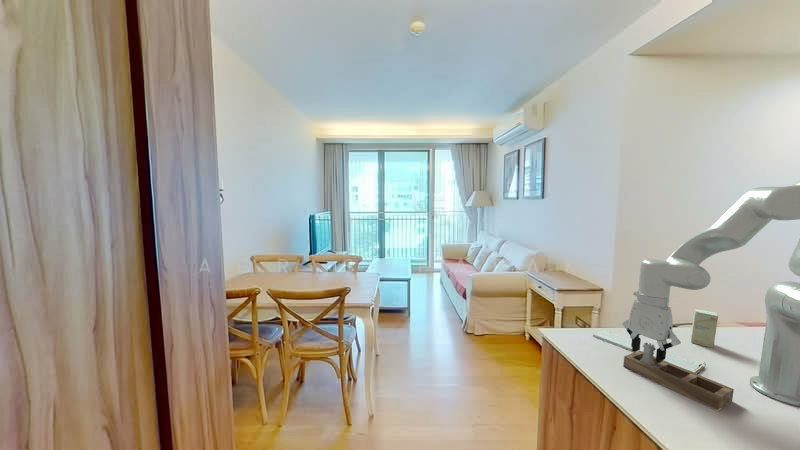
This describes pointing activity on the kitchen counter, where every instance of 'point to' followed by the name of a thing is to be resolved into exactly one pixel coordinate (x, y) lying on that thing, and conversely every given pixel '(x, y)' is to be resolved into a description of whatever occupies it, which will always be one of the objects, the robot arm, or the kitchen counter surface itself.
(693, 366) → the baseboard
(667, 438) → the kitchen counter surface
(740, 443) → the kitchen counter surface
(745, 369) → the kitchen counter surface
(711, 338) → the skincare box
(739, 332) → the kitchen counter surface
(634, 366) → the rack
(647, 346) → the rook chess piece
